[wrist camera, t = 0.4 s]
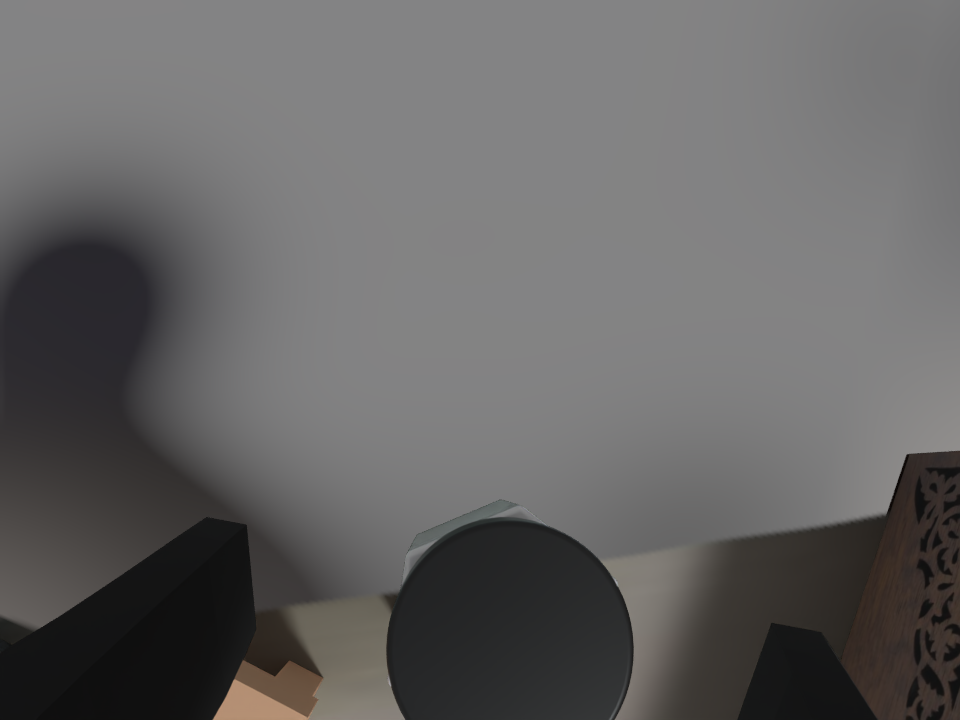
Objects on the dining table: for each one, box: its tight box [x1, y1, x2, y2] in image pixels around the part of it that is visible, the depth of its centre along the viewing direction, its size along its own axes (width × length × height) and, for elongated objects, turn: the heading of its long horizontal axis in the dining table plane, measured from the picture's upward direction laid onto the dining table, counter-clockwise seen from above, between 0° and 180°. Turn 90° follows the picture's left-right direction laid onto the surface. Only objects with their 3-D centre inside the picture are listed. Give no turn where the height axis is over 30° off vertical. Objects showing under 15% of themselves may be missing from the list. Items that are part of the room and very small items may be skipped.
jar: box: [386, 500, 634, 720], centre depth 30 cm, size 9×8×12 cm
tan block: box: [213, 660, 323, 720], centre depth 32 cm, size 8×3×6 cm, turn 63°
